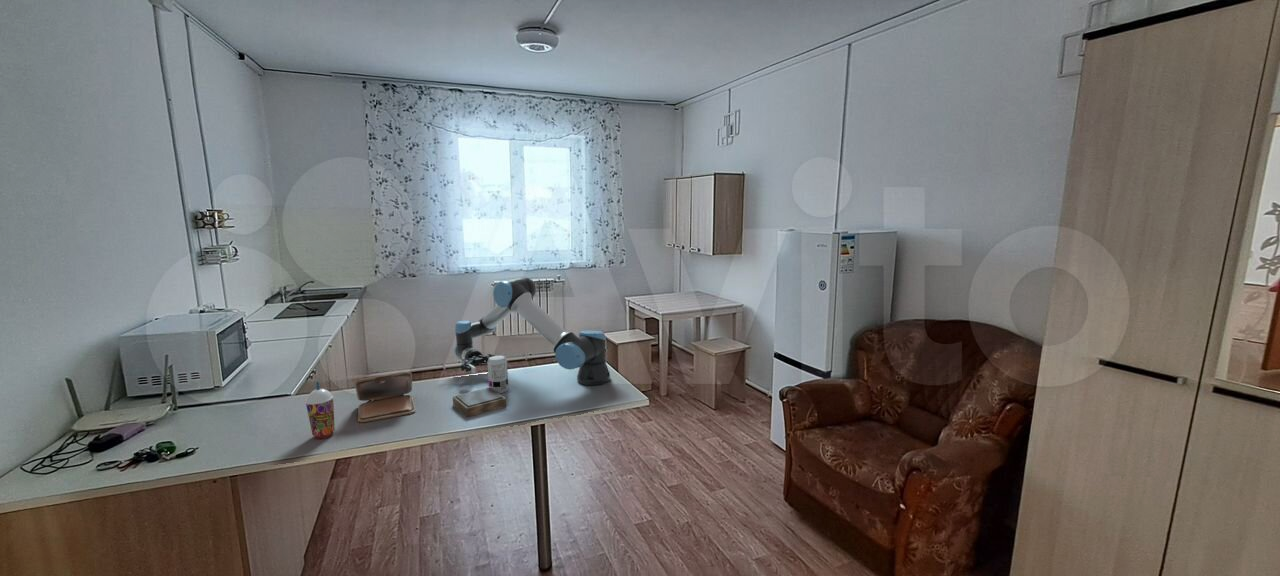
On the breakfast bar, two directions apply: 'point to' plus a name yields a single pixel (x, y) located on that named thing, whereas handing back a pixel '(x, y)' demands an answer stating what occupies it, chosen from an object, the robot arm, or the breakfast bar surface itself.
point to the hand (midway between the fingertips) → (489, 367)
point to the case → (385, 396)
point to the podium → (479, 401)
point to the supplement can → (498, 373)
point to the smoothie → (321, 412)
